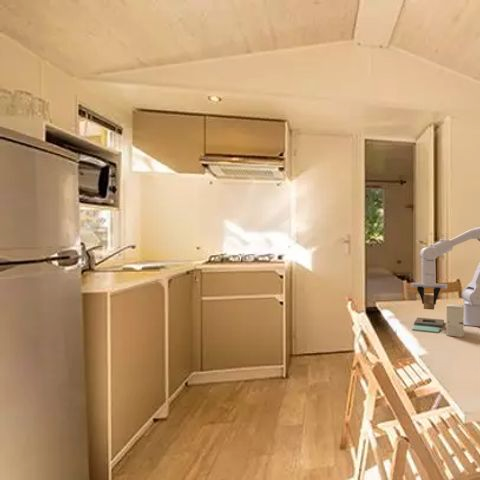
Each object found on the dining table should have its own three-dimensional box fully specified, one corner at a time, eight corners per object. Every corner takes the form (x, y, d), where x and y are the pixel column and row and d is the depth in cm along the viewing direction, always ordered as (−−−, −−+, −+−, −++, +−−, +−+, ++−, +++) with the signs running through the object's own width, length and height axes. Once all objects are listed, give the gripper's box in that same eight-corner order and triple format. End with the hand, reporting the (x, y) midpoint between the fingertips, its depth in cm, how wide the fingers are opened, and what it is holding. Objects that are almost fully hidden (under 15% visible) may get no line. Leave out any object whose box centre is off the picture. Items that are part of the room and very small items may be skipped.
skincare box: (446, 335, 154) (445, 305, 153) (446, 333, 158) (446, 303, 157) (464, 337, 151) (463, 306, 150) (463, 334, 154) (463, 304, 154)
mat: (440, 329, 164) (440, 327, 164) (438, 333, 158) (438, 331, 158) (414, 326, 169) (414, 325, 169) (412, 330, 163) (412, 328, 163)
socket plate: (443, 322, 175) (443, 319, 175) (441, 327, 166) (441, 325, 166) (417, 319, 181) (417, 317, 181) (414, 325, 172) (414, 322, 172)
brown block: (434, 308, 174) (434, 294, 174) (433, 309, 171) (433, 296, 170) (424, 307, 176) (424, 294, 176) (423, 308, 173) (423, 295, 173)
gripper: (447, 273, 173) (447, 303, 173) (412, 272, 180) (412, 301, 181) (446, 275, 167) (446, 306, 167) (410, 273, 174) (410, 303, 175)
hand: (429, 303), depth 173 cm, fingers closed on brown block, 4 cm apart
